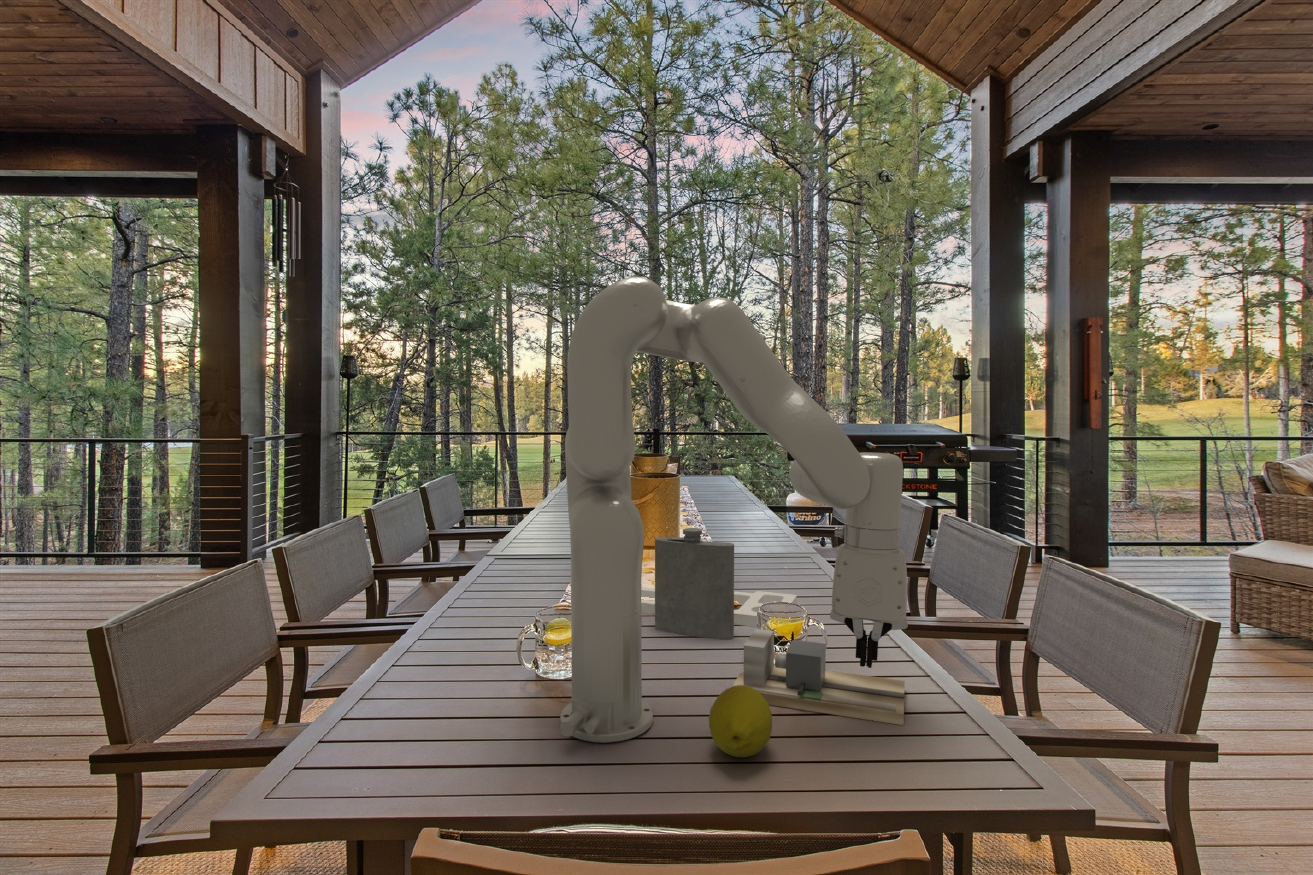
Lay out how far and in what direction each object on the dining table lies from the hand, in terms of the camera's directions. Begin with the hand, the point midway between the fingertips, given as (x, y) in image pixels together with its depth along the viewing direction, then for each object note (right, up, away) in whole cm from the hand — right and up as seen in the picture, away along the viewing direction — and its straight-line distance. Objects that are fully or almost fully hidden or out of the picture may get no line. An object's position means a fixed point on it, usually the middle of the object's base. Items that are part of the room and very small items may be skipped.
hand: (866, 663), depth 99 cm
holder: (-24, -4, +49) cm, 55 cm away
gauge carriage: (-9, -4, +2) cm, 11 cm away
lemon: (-20, -7, -14) cm, 25 cm away
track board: (-6, -6, +3) cm, 9 cm away
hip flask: (-24, -5, +31) cm, 39 cm away
